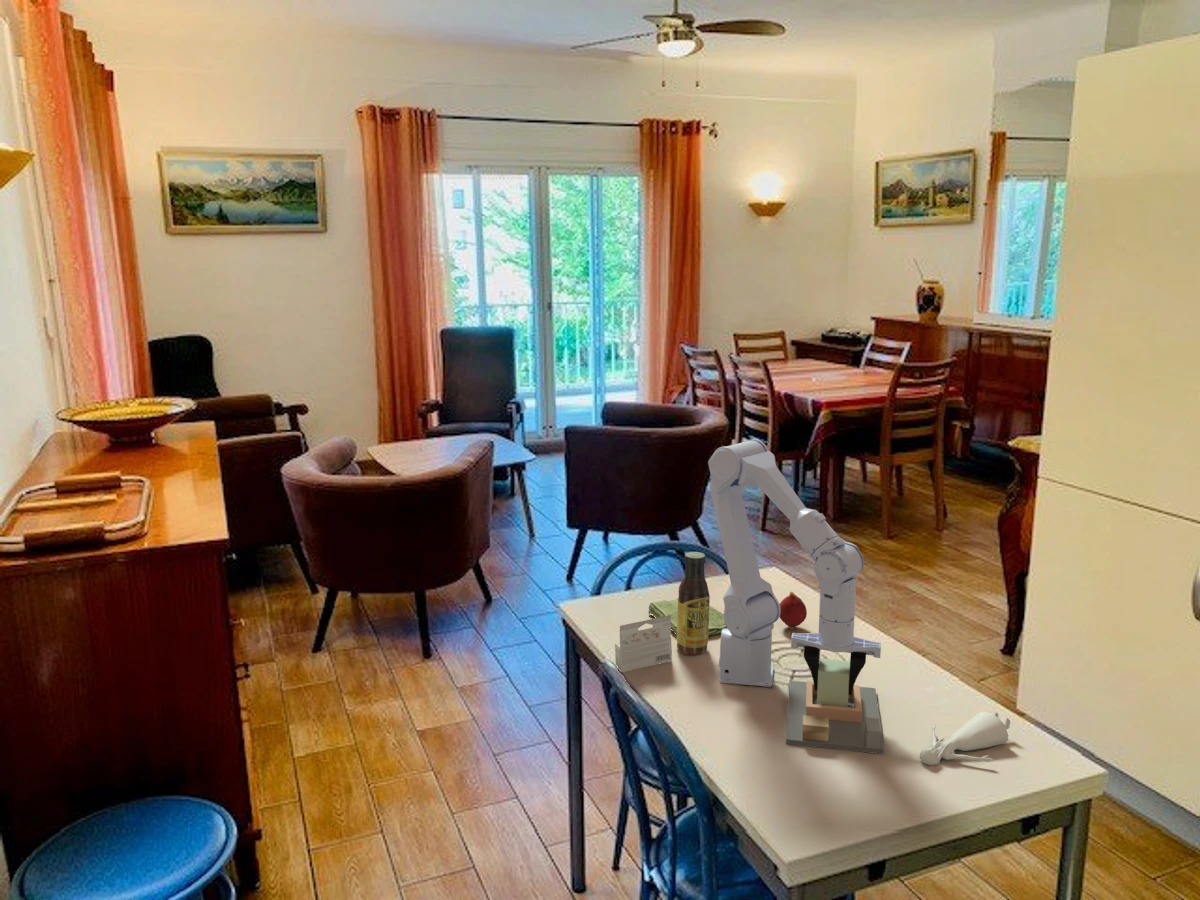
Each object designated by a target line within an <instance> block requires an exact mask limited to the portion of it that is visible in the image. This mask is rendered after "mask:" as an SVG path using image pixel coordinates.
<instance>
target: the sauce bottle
mask: <svg viewBox="0 0 1200 900" xmlns="http://www.w3.org/2000/svg"><path fill="white" fill-rule="evenodd" d="M706 560H707V559H706V555H705V553H703V552H700V551H699V552H698V551H689V552H686V553H685V554H684V562H685V568H684V570H685V571H684V578H683V579H682V580H681V582H680V584H679V587H678V597H677V599H678V613H677V634H676V648H677V651H678V652H680V653H682V654H684V655H689V656H691V655H692V656H698V655H701V654H703V653H705V652H706V651H707V650H708V644H709V636H708V629H709V605H710V602H711V601H710V599H711V598H710V597H711V596H710V592H709V587H708V582H707V581H706V578H705V576H706V575H705V564H706Z"/></svg>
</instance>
